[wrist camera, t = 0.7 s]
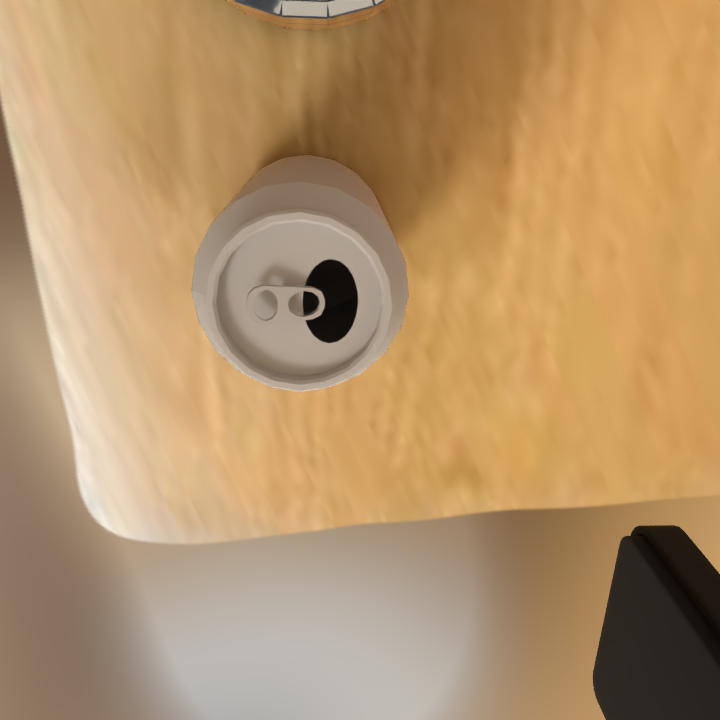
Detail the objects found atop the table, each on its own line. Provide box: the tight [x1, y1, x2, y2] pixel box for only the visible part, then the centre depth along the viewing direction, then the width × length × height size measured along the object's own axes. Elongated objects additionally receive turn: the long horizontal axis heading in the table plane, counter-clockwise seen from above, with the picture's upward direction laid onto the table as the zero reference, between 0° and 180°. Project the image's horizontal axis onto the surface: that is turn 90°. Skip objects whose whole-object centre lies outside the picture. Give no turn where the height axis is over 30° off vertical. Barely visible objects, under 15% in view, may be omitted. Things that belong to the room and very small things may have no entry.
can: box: [192, 155, 409, 392], centre depth 27 cm, size 8×8×12 cm
